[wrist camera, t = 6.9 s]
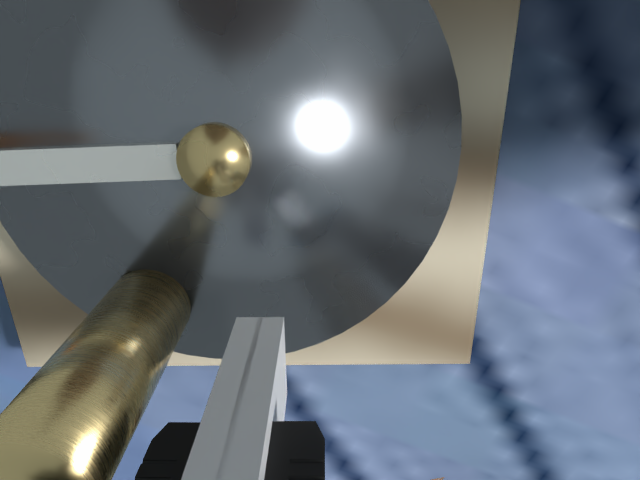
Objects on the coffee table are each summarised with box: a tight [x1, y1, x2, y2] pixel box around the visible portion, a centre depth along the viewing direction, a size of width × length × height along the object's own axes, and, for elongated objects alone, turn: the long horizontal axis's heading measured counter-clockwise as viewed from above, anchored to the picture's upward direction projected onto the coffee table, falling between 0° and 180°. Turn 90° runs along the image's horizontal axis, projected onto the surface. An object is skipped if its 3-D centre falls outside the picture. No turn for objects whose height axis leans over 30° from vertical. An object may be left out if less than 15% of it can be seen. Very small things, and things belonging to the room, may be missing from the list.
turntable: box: [0, 0, 462, 480], centre depth 11 cm, size 14×14×9 cm
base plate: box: [0, 0, 521, 367], centre depth 15 cm, size 18×18×4 cm
